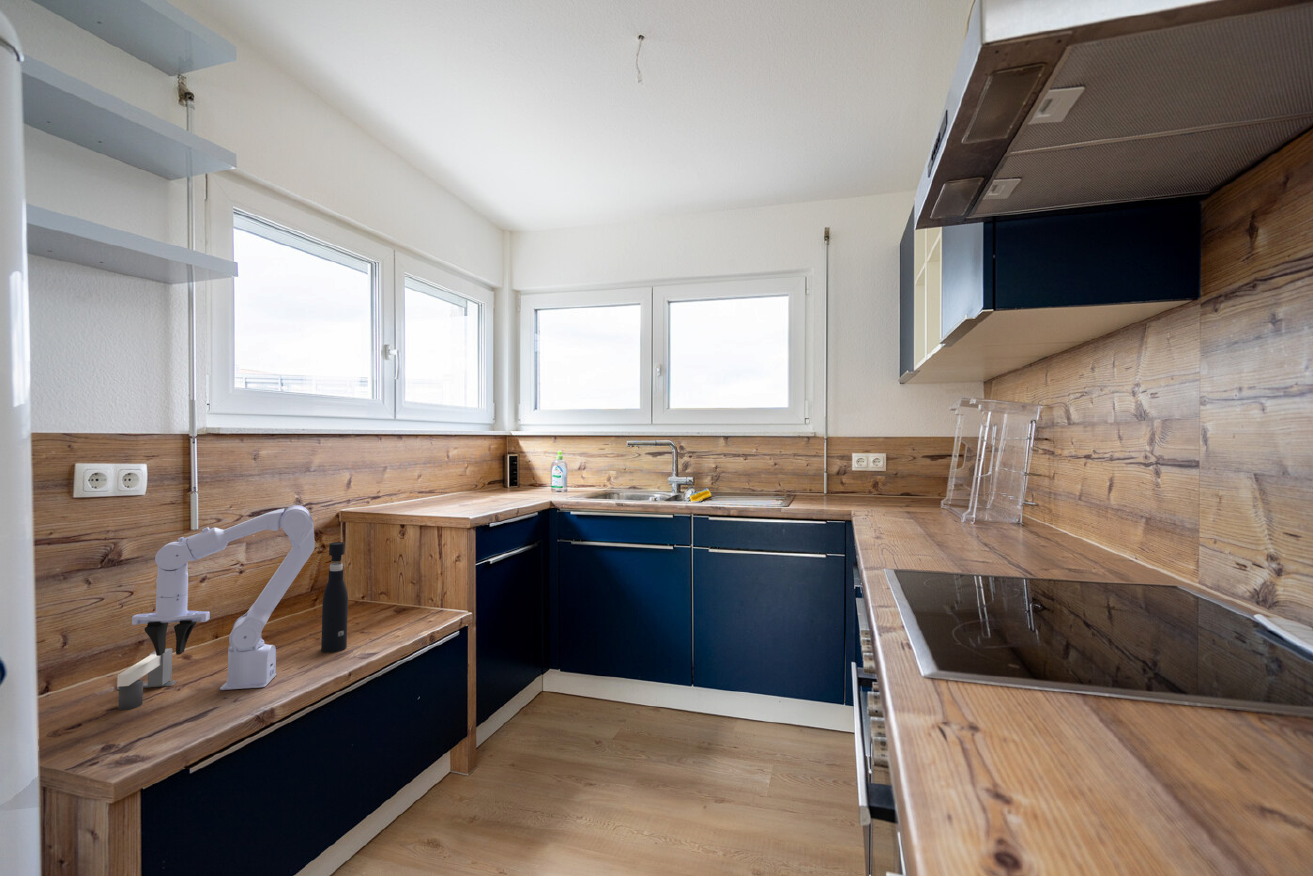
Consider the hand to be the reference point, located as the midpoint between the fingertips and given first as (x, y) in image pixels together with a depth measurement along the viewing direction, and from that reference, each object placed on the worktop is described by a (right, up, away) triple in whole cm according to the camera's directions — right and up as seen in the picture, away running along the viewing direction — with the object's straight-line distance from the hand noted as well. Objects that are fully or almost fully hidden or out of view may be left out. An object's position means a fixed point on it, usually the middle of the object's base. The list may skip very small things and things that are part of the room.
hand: (170, 653), depth 138 cm
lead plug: (-4, -9, -6) cm, 12 cm away
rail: (-9, -9, +4) cm, 14 cm away
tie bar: (-5, -9, 0) cm, 11 cm away
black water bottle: (+21, -10, +32) cm, 39 cm away
